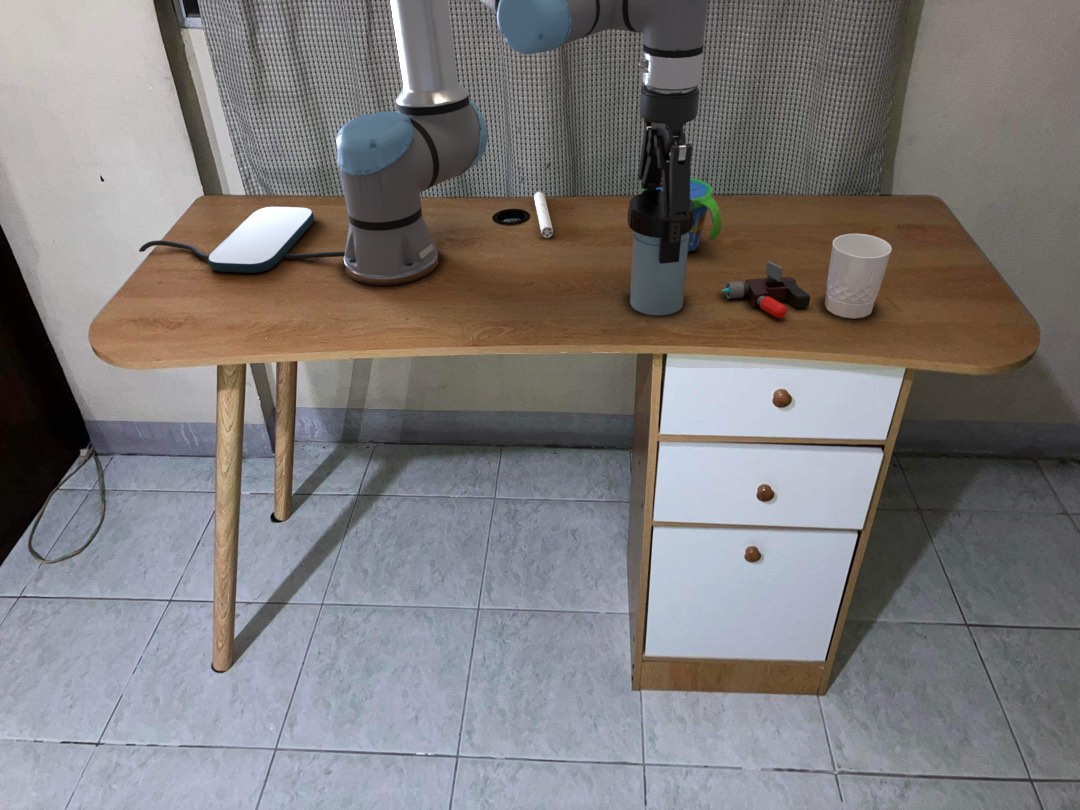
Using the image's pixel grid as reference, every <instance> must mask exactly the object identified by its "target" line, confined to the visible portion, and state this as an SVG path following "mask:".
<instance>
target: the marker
mask: <svg viewBox="0 0 1080 810" xmlns="http://www.w3.org/2000/svg"><path fill="white" fill-rule="evenodd" d="M533 200H534V205H535V211H536V214H537V219H538V224H539V228H540V229H539V230H540V233H541V235H542V237H543V238H546V239H549V238H551V237H552V236H553V234H554V229H553V224H552V221H551V216H550V213H549V208H548V204H547V200H546V196H545V194H544V193H543V192H542V191H536V192H535V194H534V196H533Z"/></svg>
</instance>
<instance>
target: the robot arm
mask: <svg viewBox="0 0 1080 810" xmlns="http://www.w3.org/2000/svg"><path fill="white" fill-rule="evenodd" d="M478 1H479V2H480V3H482V4H483V5H484V6H485V7H487V8H488V9H490V10H491V11H492V12H493V13H494V14H496V20H497V26H498V30H499V32H500V33H501V34H502V37H503V38H504V41H505V43H506V44H507V45H508V47H510V49H512V50H513V51H515V52H517V53H520V54H522V55H534V54H540V53H545V52H550V51H554V50H556V49H558V48H560V47H561V46H564V45H566V44H569V43H572V42H574V41H577V40H581V39H583V38H587V37H589V36H593V35H595V34H598V33H601V32H603V31H607V30H616V31H625V32H632V33H637V34H638V33H642V34H643V35H642V36H643V40H642V41H643V43H642V44H643V46H642V51H643V53H642V56H643V57H642V58H643V59H642V60H639V62H638V68H639V69H641V71H642V72H641V82H642V84H643V87H642V88H641V89H640V101H639V115H640V117H641V118H642V119H643V135H642V143H641V152H640V159H639V167H638V174H637V178H638V181H641V183H640V186H641V189H642V190H643V189H644V191H642V190H641V192H642V193H646V192H656V191H661V189H657V190H656V188H661V187H663V197H664V212H665V217H660V222H662V223H661V237H660V251H659V263H660V264H663V263H673V262H679V255H680V244H681V233H682V222H683V221H689V219H690V178H691V161H692V155H693V154H692V153H693V145H692V143H687V141H686V134H685V132H684V126H685V125H686V124H687V123H689V122H692V121H694V120H695V119H696V118H697V116H698V113H699V112H698V111H699V101H700V89H699V88H698V86H699V85H700V84H701V83H702V75H703V65H704V55H705V54H704V53H705V51H704V41H705V33H706V32H705V31H706V25H707V23H706V22H707V14H708V6H709V5H708V4H709V3H708V2H709V0H478ZM389 2H390V9H391V16H392V22H393V28H394V33H395V34H394V35H395V40H396V47H397V53H398V59H399V60H398V61H399V66H400V72H401V80H402V84H403V87H402V89H401V91H400V92H399V94H398V95H397V96H396V98H395V103H396V109H397V111H394V110H393V111H391V110H385V111H376V112H374V113H366V114H363V115H360V116H358V117H355V118H353V119H351V120H350V121H348V122H347V123H345V124H344V125H343V126H342V127H341V128H340V129H339V131H338V133H337V135H336V141H335V142H336V151H337V156H336V160H337V161H336V162H337V166H338V167H339V171H340V176H341V184H342V189H343V194H344V195H343V196H344V200H345V206H346V213H347V215H348V216H347V217H348V232H347V237H346V238H347V239H346V245H345V250H342V251H341V250H340V251H325V252H324V251H323V252H309V253H286V254H283V257H282V258H281V260H283V259H284V260H304V259H305V260H306V259H320V258H336V257H337V258H338V257H339V258H340V257H343V261H344V267H345V272H346V274H347V275H348V277H350V278H351V279H352V280H354V281H356V282H359V283H361V284H366V285H370V286H372V285H373V286H395V285H402V284H407V283H412V282H414V281H417V280H420V279H422V278H425V277H426V276H428V275H429V274H431V273H432V272H433V271H434V270H435V269H436V268H437V266H438V264H439V252H438V251H439V250H438V247H437V245H436V243H435V241H434V239H433V236H432V234H431V232H430V230H429V228H428V226H427V224H426V222H425V219H424V218H423V210H422V202H421V193H422V192H424V191H426V190H428V189H431V188H433V187H434V186H437V185H439V184H441V183H444V182H446V181H448V180H450V179H452V178H453V179H454V178H456V177H460V176H461V175H463V174H465V173H466V172H468V170H470V169H471V168H473V167H475V166H476V165H478V163H479V162H480V161H481V159H482V158H483V157H484V155H485V152H486V149H487V146H488V127H487V126H488V125H487V122H486V119H485V117H484V114H483V113H481V112H480V111H479V110H480V108H479V107H478V105H477V104H476V103H475V102H474V101H473V100H471V99H470V95H469V90H468V89H466V88H465V87H464V86H463V85H462V84H461V83H460V82H459V81H458V75H457V65H456V58H455V50H454V42H453V33H452V23H451V17H450V16H451V15H450V9H449V0H389ZM155 246H164V247H165V246H167V247H172V248H177V249H183V250H188V251H191V252H193V253H194V254H196V255H197V256H198V257H200V259H203V260H206V261H208V258H209V255H210V254H206V253H204V252H202V251H201V250H200V249H198V248H197V247H196V246H194V245H191V244H187V243H181V242H175V241H170V240H161V239H160V240H158V239H157V240H151V241H147V242H146V243H144V244H143V245H142V246H140V248H139V250H138V252H139V253H142V252H143V253H144V252H145V251H147V250H148V249H149V248H151V247H155Z"/></svg>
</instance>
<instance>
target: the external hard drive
mask: <svg viewBox="0 0 1080 810" xmlns="http://www.w3.org/2000/svg"><path fill="white" fill-rule="evenodd" d="M314 220H315V216H314V212H313V210H312V209H311V208H308V207H301V206H300V207H297V206H266V207H262V208H259V209H257V210H255V211H254V212H252V213H251V214H250V215H249V216H248V217H247V218H246V219H245V220H244V221H243V222H241V224H240V225H239V226H238V227H237V228H235V230H234V231H232V232H231V233H230V234H229V235H228V236H227V237H226V238H225V239H224V240H223V241H222V242H221V243H220V244H219V245H217V247H216V248H214V249H213V250H212V251H211V253H210V254H208V255H209V258H208V260H207V262H208V265H209V267H210V268H211V269H212V270H213V271H215V272H221V273H223V272H224V273H225V272H226V273H246V274H247V273H248V274H249V273H250V274H251V273H252V274H253V273H256V274H257V273H263V272H266V271H268V270H270V269H272V268H273V267H275V266H277V264H278V263H279V262H280V261H281V260H282V259H281V258H282V257H283V254H288V252H289V251H290V250H291V249H292V247H293V246H294V245H295V244H296V243H297V242H298V241H299V239H300V238H301V237H302V236H303V235H304V234H305V233H306V231H307V230H308V229H309V228H310V227H311V226H312V224H313V223H314Z"/></svg>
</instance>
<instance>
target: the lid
mask: <svg viewBox="0 0 1080 810" xmlns="http://www.w3.org/2000/svg"><path fill="white" fill-rule="evenodd" d="M694 207H695V204H694V202H693V201H692V200H691V199H690V219H689V221H683V222H682V233H681V235H684V234H686V233H688V232H689V231H690V230H691V229H692V226H693V221H694V211H695V209H694ZM660 217H665V212H664V197H663V191H656V192H646V193H642V194H641V193H639V194H636V195H635V196H633V197H631V199H629V203H628V209H627V225H628V227H629V229H630V230H631V231H633V232H636V233H638V234H641V235H644V236H648V237H655V238H660V237H661V223H662V222H660Z"/></svg>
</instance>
